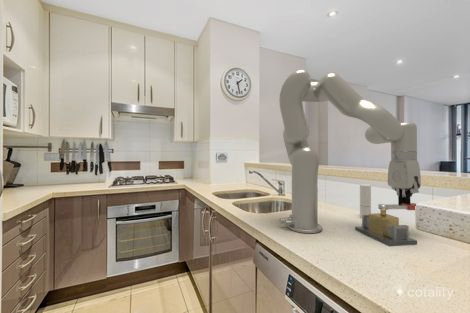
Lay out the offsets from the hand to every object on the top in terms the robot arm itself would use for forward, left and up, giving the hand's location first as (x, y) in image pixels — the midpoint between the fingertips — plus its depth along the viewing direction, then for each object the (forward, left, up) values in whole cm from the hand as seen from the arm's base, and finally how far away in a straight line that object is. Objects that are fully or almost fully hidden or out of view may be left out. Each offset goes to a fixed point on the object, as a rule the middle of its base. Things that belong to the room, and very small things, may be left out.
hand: (404, 207), depth 78 cm
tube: (0, +20, -9) cm, 22 cm away
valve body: (-11, -2, -9) cm, 14 cm away
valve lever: (-5, -3, 0) cm, 6 cm away
